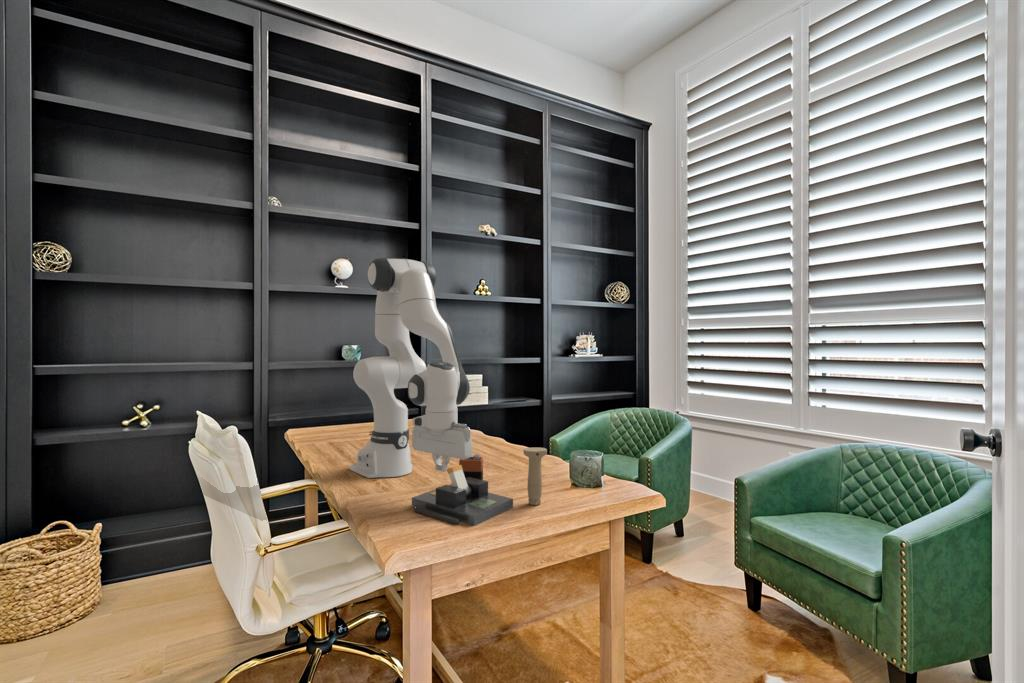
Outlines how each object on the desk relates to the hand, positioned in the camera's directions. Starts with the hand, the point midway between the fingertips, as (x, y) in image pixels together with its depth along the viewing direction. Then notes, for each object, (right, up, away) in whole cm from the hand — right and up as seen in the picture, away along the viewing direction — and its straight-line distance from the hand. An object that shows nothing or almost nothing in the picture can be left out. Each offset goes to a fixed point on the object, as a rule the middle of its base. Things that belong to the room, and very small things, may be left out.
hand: (441, 470), depth 136 cm
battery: (+7, -9, +12) cm, 17 cm away
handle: (+26, -9, -1) cm, 27 cm away
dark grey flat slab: (+6, -9, -5) cm, 12 cm away
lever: (+7, -6, -5) cm, 10 cm away
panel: (+6, -9, -5) cm, 12 cm away
